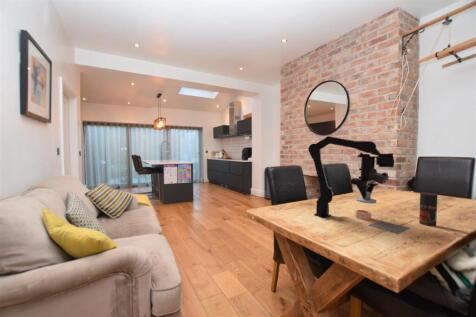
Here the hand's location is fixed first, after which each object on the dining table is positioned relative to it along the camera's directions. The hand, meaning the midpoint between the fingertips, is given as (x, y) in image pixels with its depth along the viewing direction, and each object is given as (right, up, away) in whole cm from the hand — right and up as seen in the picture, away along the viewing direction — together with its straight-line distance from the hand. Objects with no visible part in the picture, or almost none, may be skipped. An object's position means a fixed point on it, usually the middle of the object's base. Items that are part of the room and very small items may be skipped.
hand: (366, 197), depth 106 cm
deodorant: (+24, -12, -7) cm, 28 cm away
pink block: (0, -12, +2) cm, 12 cm away
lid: (0, -2, 0) cm, 2 cm away
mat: (+4, -12, -10) cm, 16 cm away
